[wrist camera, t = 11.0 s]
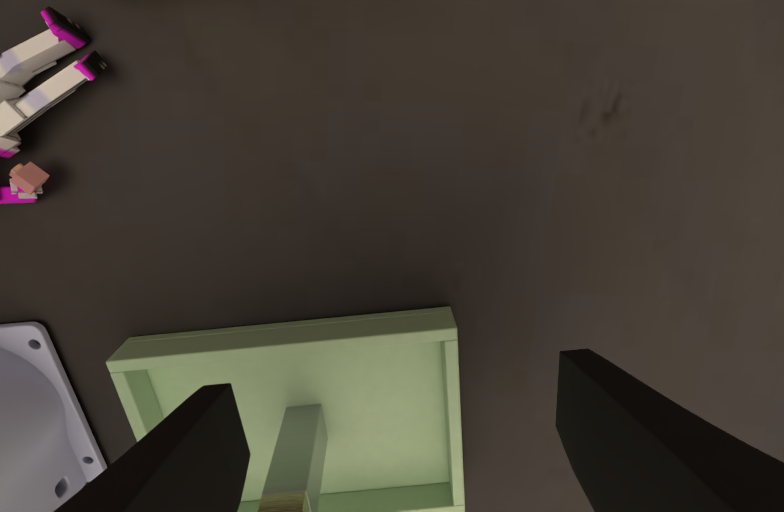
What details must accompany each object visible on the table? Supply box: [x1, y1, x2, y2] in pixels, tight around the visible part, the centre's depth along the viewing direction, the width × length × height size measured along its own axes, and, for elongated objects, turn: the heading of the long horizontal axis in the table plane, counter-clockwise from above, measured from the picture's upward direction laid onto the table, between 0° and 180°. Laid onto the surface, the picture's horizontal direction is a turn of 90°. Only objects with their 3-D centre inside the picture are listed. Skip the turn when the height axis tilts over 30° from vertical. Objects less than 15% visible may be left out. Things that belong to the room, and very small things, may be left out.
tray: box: [106, 306, 465, 512], centre depth 22 cm, size 11×15×2 cm
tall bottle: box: [257, 405, 328, 512], centre depth 18 cm, size 2×2×10 cm
